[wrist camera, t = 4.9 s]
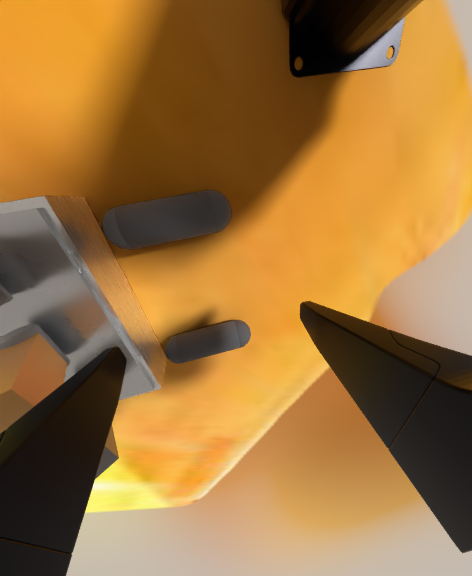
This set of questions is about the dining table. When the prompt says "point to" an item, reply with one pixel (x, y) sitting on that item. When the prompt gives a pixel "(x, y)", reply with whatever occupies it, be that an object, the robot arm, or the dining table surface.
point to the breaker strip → (74, 288)
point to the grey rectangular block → (4, 295)
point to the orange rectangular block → (27, 371)
